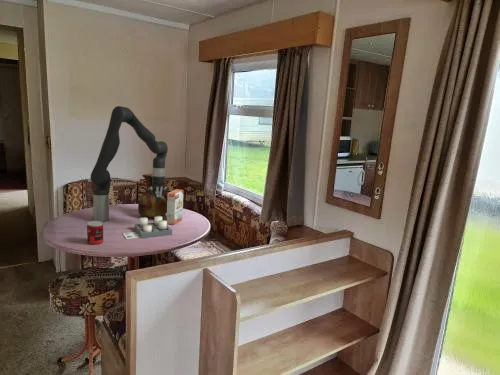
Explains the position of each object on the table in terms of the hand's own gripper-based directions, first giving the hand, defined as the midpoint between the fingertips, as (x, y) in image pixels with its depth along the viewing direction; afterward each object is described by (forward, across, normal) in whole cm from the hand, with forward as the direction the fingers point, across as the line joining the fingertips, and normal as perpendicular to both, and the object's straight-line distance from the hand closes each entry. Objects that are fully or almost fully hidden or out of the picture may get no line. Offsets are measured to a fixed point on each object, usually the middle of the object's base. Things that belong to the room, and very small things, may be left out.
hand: (158, 202), depth 215 cm
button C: (+16, +9, +9) cm, 20 cm away
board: (+17, +4, +4) cm, 18 cm away
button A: (+14, +9, 0) cm, 16 cm away
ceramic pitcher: (+17, -4, -27) cm, 33 cm away
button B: (+14, 0, 0) cm, 14 cm away
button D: (+14, 0, +9) cm, 16 cm away
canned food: (+17, +37, +11) cm, 42 cm away
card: (+17, +17, +7) cm, 25 cm away
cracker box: (+17, -15, -11) cm, 25 cm away
